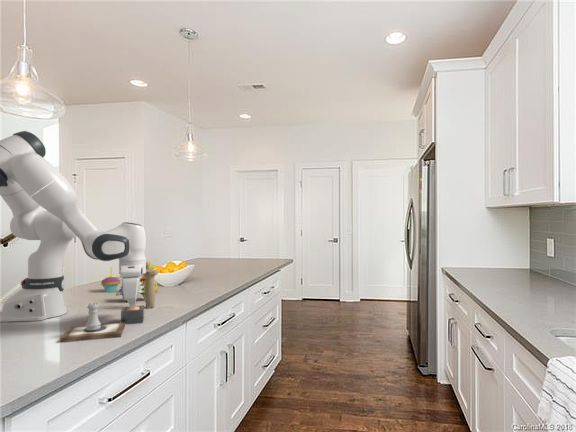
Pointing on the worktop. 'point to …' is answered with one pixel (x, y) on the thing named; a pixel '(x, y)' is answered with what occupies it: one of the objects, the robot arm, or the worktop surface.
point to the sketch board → (93, 332)
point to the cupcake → (110, 283)
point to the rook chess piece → (93, 318)
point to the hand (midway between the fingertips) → (132, 307)
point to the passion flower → (137, 294)
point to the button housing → (132, 315)
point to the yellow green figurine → (148, 267)
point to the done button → (133, 309)
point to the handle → (150, 288)
